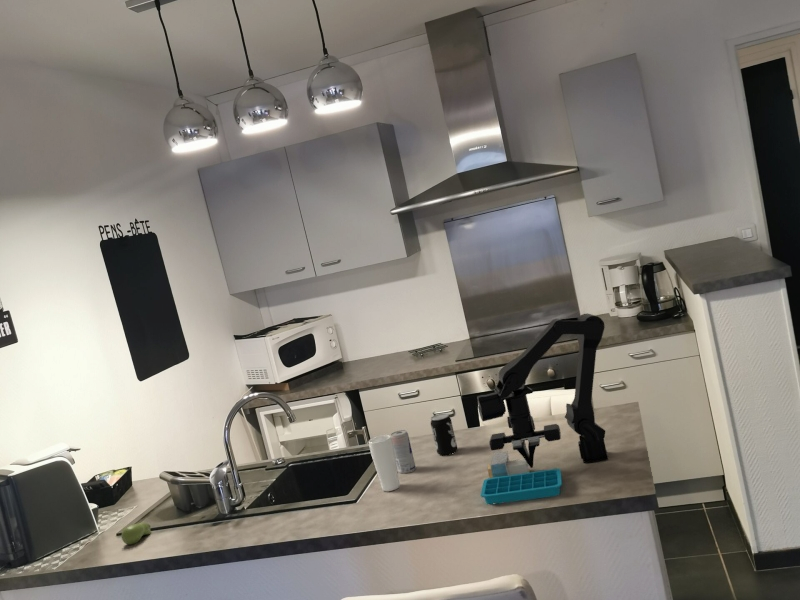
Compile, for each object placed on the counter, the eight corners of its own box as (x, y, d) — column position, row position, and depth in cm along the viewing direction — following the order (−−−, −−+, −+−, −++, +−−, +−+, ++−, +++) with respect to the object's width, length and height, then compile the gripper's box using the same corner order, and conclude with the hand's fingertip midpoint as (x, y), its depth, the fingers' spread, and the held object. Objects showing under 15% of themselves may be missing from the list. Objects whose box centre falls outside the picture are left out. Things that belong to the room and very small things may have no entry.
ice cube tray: (563, 497, 172) (561, 485, 172) (482, 508, 177) (480, 496, 176) (562, 479, 184) (560, 468, 183) (486, 489, 188) (484, 478, 188)
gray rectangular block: (511, 469, 197) (507, 451, 196) (509, 482, 188) (504, 463, 188) (497, 471, 198) (493, 453, 197) (494, 484, 189) (490, 465, 189)
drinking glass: (375, 493, 203) (363, 443, 201) (386, 483, 209) (375, 435, 207) (396, 493, 200) (384, 442, 198) (406, 483, 205) (395, 433, 204)
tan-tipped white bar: (529, 470, 193) (526, 458, 193) (528, 476, 189) (526, 464, 189) (491, 475, 196) (489, 463, 196) (490, 481, 192) (487, 469, 192)
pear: (116, 529, 206) (138, 519, 216) (118, 547, 206) (141, 537, 215) (131, 527, 205) (153, 517, 214) (134, 546, 204) (156, 535, 214)
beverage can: (450, 456, 219) (442, 419, 218) (433, 456, 224) (425, 420, 222) (461, 448, 225) (453, 412, 224) (444, 448, 229) (436, 413, 228)
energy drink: (416, 465, 219) (408, 428, 217) (415, 471, 213) (406, 434, 212) (399, 468, 219) (391, 432, 218) (398, 475, 214) (389, 437, 213)
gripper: (554, 397, 195) (566, 451, 196) (487, 409, 200) (500, 461, 201) (553, 409, 184) (566, 466, 186) (483, 421, 189) (496, 476, 190)
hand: (531, 467), depth 191 cm, fingers closed
